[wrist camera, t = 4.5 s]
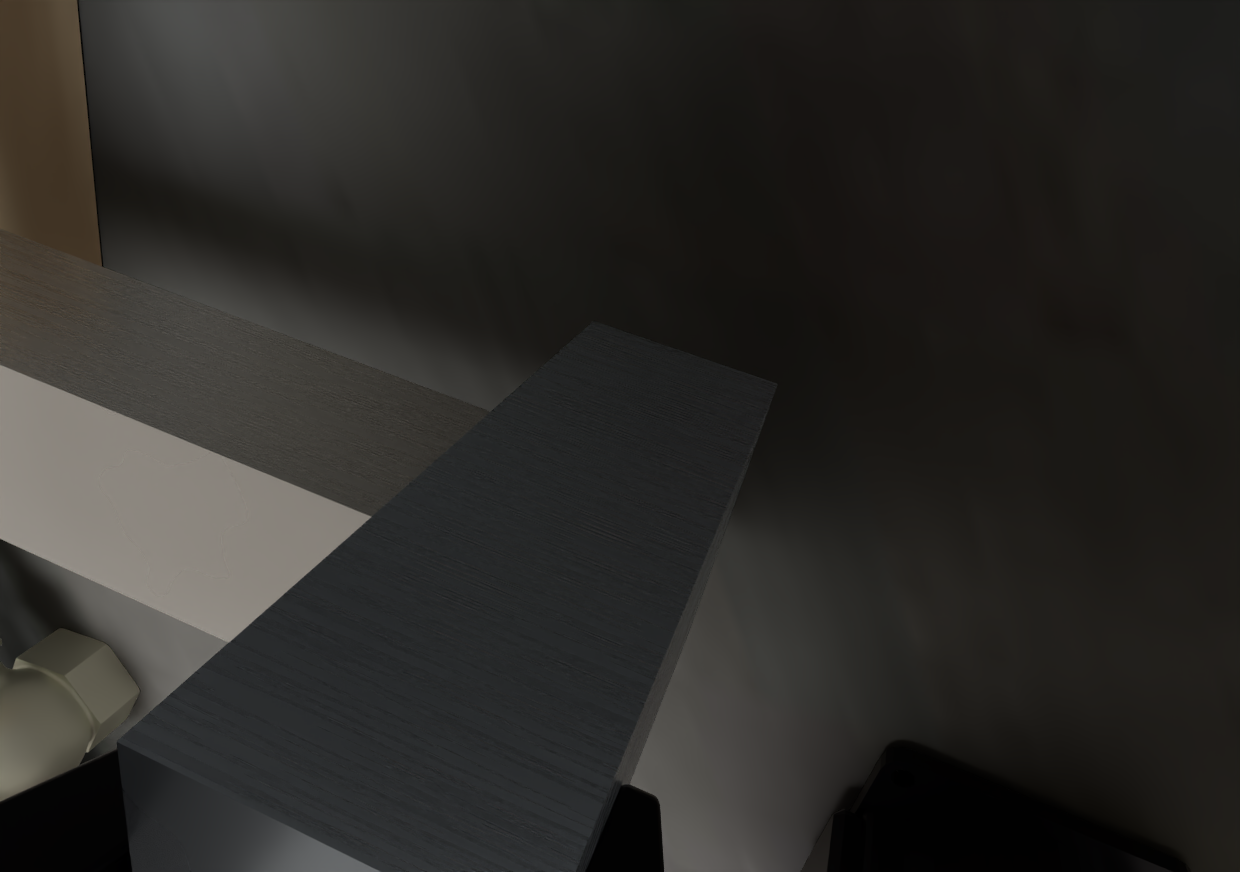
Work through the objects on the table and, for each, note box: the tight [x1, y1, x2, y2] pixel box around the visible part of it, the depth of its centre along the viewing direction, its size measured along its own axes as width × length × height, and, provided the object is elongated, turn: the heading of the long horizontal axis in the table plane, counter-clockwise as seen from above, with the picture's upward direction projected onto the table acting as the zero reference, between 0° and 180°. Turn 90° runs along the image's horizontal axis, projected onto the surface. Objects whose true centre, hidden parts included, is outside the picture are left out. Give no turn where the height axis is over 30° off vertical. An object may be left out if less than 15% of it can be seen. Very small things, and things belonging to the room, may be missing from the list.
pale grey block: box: [0, 229, 777, 872], centre depth 11 cm, size 17×5×9 cm, turn 78°
